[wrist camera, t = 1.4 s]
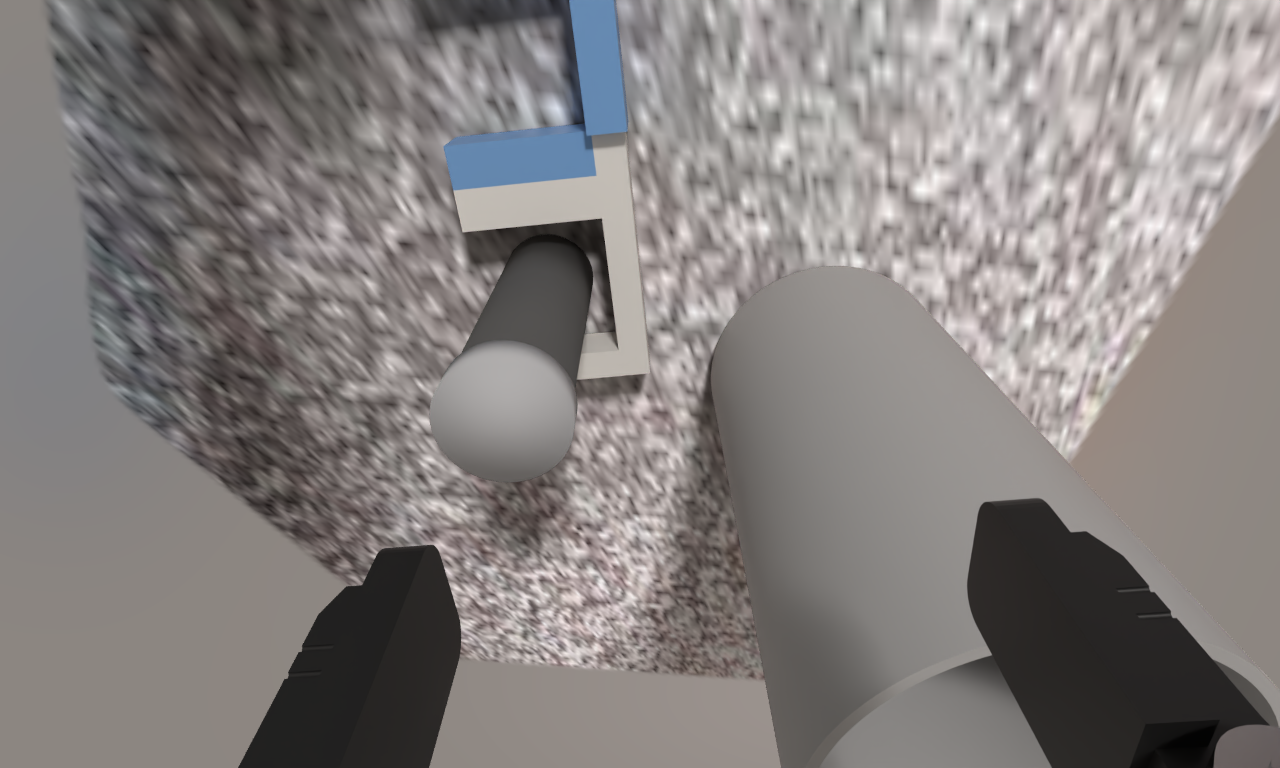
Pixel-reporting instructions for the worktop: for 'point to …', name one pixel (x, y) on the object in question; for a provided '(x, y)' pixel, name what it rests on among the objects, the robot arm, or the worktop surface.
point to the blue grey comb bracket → (570, 185)
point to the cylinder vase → (892, 526)
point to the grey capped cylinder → (519, 367)
